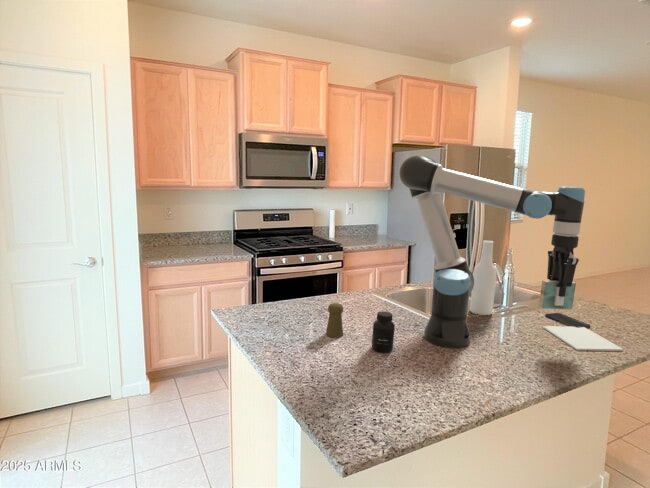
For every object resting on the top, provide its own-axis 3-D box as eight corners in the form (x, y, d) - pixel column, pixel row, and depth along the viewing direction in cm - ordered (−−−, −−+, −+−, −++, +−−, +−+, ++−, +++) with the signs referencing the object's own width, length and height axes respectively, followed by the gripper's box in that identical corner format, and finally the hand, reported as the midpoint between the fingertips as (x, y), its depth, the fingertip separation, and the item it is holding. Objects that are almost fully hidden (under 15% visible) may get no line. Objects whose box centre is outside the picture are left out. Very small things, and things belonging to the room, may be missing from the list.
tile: (542, 308, 137) (546, 282, 136) (538, 306, 140) (542, 280, 138) (572, 309, 138) (575, 283, 136) (567, 306, 140) (571, 281, 139)
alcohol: (492, 317, 165) (500, 243, 160) (469, 314, 168) (476, 241, 163) (491, 310, 174) (499, 240, 168) (469, 307, 176) (476, 238, 171)
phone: (558, 312, 172) (591, 325, 158) (557, 315, 172) (591, 328, 158) (543, 314, 169) (576, 327, 155) (543, 316, 169) (576, 330, 156)
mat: (576, 350, 136) (576, 348, 136) (542, 327, 156) (542, 326, 156) (623, 350, 137) (623, 349, 137) (583, 328, 157) (583, 326, 157)
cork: (346, 333, 144) (347, 303, 142) (339, 339, 139) (340, 308, 137) (330, 329, 147) (331, 300, 145) (322, 335, 141) (324, 305, 139)
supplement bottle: (379, 355, 128) (381, 318, 125) (367, 347, 134) (369, 311, 131) (397, 351, 131) (400, 315, 129) (384, 343, 137) (387, 308, 135)
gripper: (592, 238, 127) (581, 311, 131) (562, 231, 142) (553, 297, 146) (568, 238, 127) (558, 311, 131) (541, 230, 142) (532, 296, 146)
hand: (555, 303), depth 139 cm, fingers closed on tile, 2 cm apart
